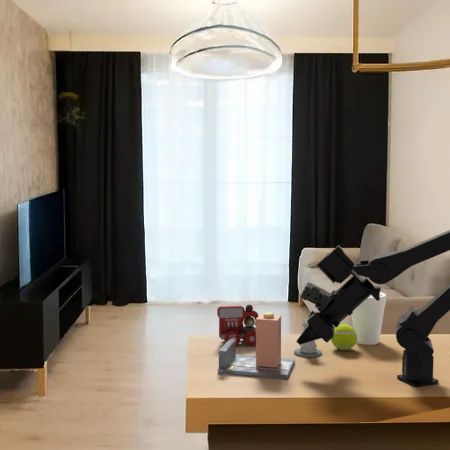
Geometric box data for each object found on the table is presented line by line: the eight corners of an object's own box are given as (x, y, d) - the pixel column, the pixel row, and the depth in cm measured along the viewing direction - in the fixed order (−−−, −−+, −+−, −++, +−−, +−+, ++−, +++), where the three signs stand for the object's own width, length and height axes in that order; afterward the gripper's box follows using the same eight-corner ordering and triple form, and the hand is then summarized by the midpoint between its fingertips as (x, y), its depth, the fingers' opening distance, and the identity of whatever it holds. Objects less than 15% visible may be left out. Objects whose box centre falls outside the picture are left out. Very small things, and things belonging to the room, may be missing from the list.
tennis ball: (345, 355, 154) (345, 329, 154) (325, 349, 159) (325, 324, 159) (362, 350, 158) (362, 324, 158) (342, 344, 164) (342, 319, 163)
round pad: (327, 355, 154) (327, 353, 154) (302, 358, 151) (302, 356, 151) (312, 348, 160) (312, 346, 160) (289, 351, 158) (289, 349, 158)
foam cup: (346, 336, 171) (347, 290, 170) (380, 336, 171) (381, 290, 170) (352, 346, 162) (353, 297, 161) (388, 346, 161) (389, 297, 160)
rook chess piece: (296, 352, 155) (296, 321, 154) (303, 347, 159) (304, 317, 158) (313, 355, 153) (313, 323, 152) (319, 350, 157) (320, 319, 156)
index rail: (294, 362, 148) (294, 342, 148) (287, 379, 137) (287, 357, 136) (230, 357, 152) (230, 338, 152) (217, 373, 141) (217, 352, 140)
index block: (280, 360, 146) (281, 311, 145) (277, 367, 141) (277, 317, 140) (260, 359, 147) (260, 310, 146) (255, 365, 142) (255, 315, 141)
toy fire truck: (266, 346, 163) (266, 307, 162) (219, 348, 161) (219, 309, 160) (260, 338, 170) (260, 301, 169) (215, 341, 168) (215, 303, 167)
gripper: (326, 265, 148) (280, 308, 151) (318, 279, 130) (266, 327, 133) (359, 299, 146) (311, 341, 150) (355, 318, 128) (301, 365, 132)
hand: (297, 342), depth 142 cm, fingers closed
